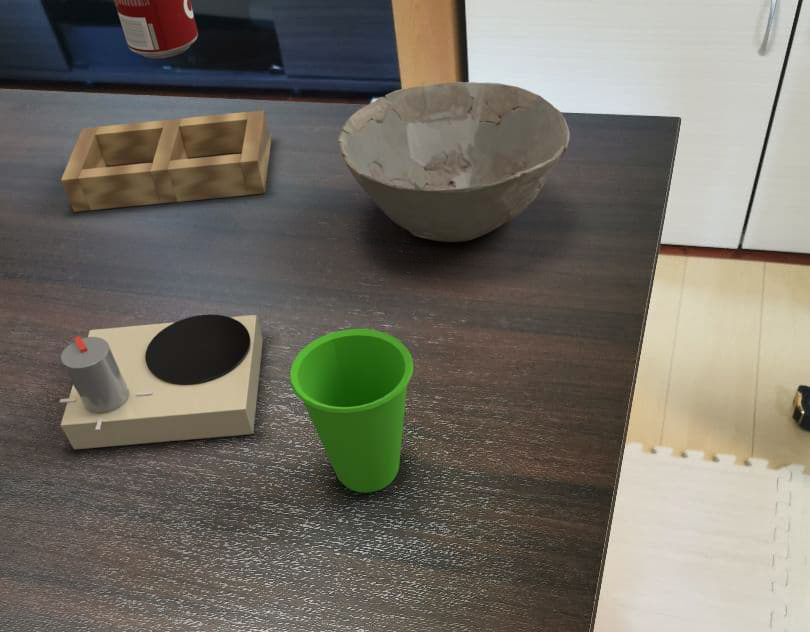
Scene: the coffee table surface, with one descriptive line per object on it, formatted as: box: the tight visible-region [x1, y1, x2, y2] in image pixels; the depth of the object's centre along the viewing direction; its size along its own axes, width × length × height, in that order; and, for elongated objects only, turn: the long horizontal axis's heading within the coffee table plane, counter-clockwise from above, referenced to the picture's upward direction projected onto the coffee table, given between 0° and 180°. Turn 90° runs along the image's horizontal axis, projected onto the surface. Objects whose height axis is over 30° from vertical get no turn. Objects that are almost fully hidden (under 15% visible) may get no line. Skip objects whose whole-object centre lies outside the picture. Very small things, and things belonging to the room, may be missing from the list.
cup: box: [289, 328, 414, 494], centre depth 65 cm, size 9×9×11 cm
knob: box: [60, 335, 129, 413], centre depth 71 cm, size 4×4×5 cm
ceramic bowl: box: [337, 81, 571, 243], centre depth 88 cm, size 22×23×10 cm
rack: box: [60, 109, 272, 213], centre depth 101 cm, size 23×12×4 cm, turn 92°
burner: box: [145, 314, 251, 385], centre depth 76 cm, size 10×10×1 cm
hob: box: [59, 314, 264, 450], centre depth 76 cm, size 17×14×3 cm
